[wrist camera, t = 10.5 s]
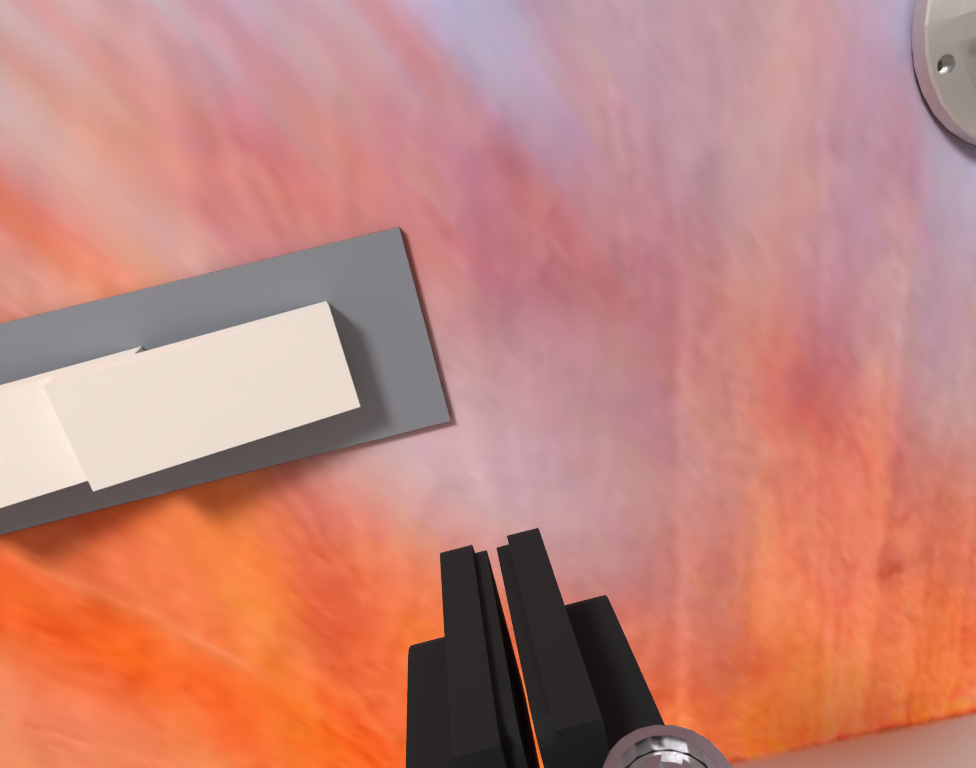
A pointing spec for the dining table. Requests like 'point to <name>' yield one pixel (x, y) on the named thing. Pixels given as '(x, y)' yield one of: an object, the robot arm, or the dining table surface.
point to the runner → (234, 301)
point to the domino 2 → (203, 394)
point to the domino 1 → (37, 438)
